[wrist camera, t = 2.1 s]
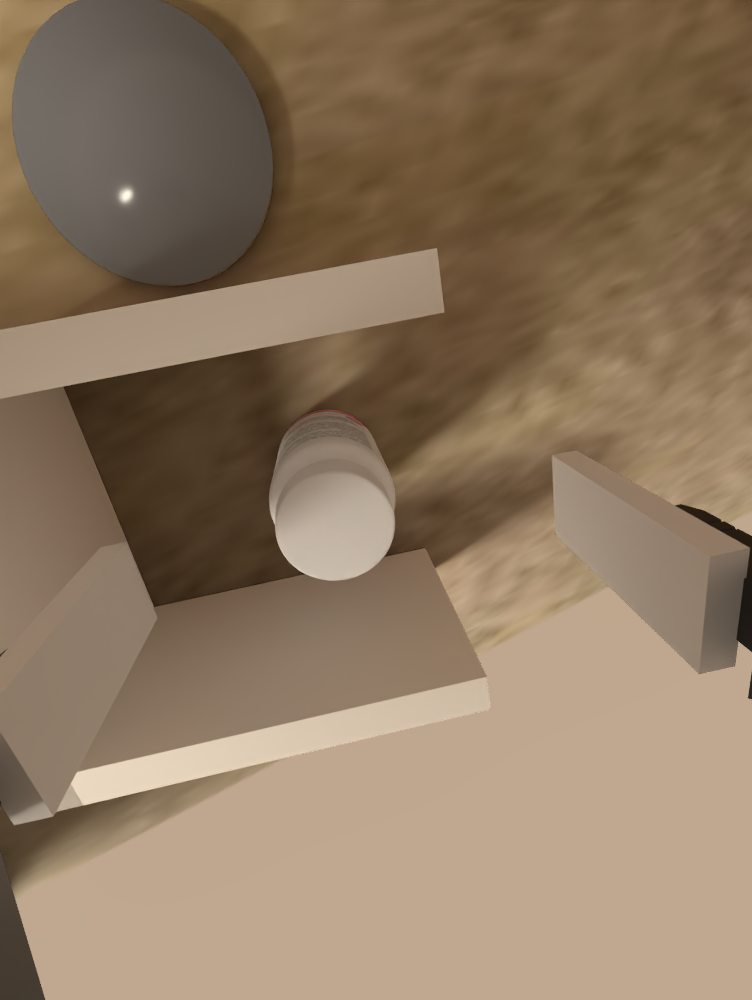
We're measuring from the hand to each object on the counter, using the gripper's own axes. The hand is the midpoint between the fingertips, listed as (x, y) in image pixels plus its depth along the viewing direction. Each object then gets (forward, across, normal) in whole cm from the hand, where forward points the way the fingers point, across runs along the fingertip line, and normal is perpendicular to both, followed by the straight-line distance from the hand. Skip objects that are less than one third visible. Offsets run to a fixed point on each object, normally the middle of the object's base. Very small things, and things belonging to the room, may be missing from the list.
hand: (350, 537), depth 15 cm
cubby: (+9, -5, 0) cm, 10 cm away
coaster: (+9, -5, +13) cm, 17 cm away
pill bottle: (+10, -1, 0) cm, 10 cm away
